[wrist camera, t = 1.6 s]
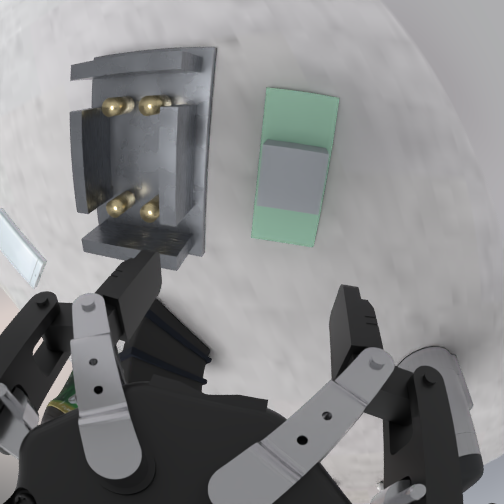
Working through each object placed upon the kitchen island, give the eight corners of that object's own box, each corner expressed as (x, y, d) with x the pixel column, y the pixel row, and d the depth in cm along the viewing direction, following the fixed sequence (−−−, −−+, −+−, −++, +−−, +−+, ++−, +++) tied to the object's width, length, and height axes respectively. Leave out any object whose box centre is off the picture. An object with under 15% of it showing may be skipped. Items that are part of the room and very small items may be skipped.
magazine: (134, 285, 34) (126, 408, 25) (210, 320, 43) (219, 422, 33) (118, 297, 36) (109, 411, 26) (193, 329, 44) (199, 426, 35)
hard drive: (-9, 240, 38) (32, 290, 41) (-3, 210, 34) (42, 264, 37) (-3, 236, 39) (38, 285, 42) (4, 206, 35) (48, 259, 38)
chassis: (98, 58, 23) (64, 57, 18) (216, 48, 22) (196, 38, 17) (104, 235, 34) (78, 258, 29) (204, 252, 33) (187, 281, 28)
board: (268, 88, 24) (262, 85, 19) (336, 98, 23) (344, 97, 19) (254, 229, 31) (245, 253, 26) (312, 238, 30) (314, 263, 26)
